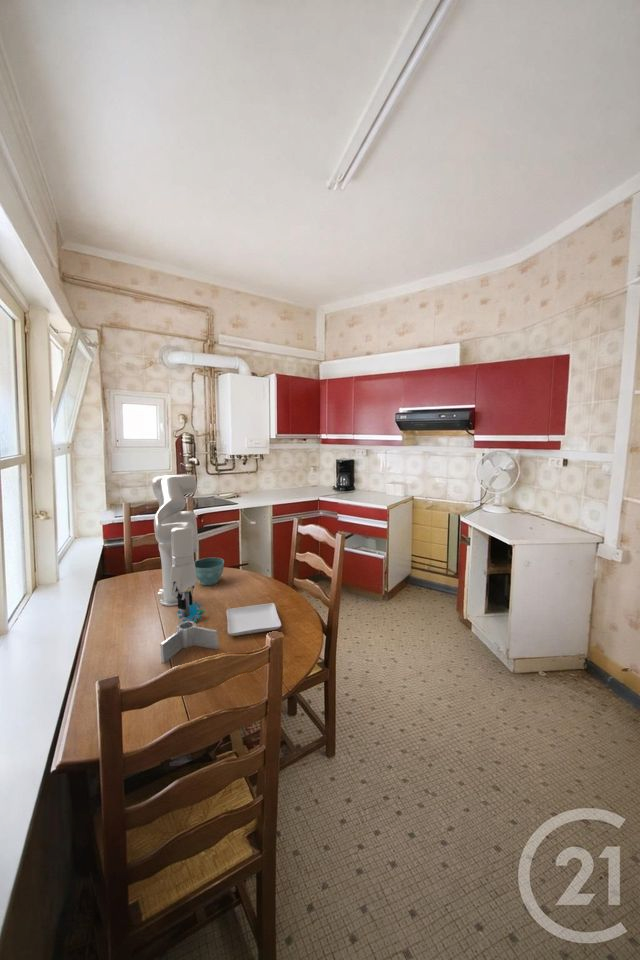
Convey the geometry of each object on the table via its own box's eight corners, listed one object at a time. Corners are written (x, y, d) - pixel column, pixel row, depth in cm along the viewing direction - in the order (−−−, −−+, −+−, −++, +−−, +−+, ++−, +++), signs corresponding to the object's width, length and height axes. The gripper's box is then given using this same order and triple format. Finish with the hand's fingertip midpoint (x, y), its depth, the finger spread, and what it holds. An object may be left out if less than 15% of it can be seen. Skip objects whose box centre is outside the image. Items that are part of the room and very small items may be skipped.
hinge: (154, 661, 133) (153, 642, 132) (185, 636, 148) (184, 620, 147) (195, 670, 128) (194, 650, 127) (222, 644, 143) (221, 626, 142)
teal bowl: (212, 590, 192) (211, 569, 190) (186, 585, 197) (185, 565, 196) (230, 578, 207) (230, 559, 205) (206, 574, 212) (205, 556, 211)
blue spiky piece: (176, 623, 156) (178, 599, 162) (175, 628, 160) (177, 604, 166) (204, 622, 159) (205, 599, 165) (203, 626, 164) (203, 604, 170)
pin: (176, 617, 141) (174, 588, 140) (184, 611, 146) (183, 584, 144) (187, 619, 140) (185, 590, 138) (195, 613, 144) (193, 585, 143)
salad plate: (228, 641, 146) (227, 632, 145) (226, 615, 166) (226, 608, 166) (282, 633, 152) (282, 625, 151) (274, 609, 172) (274, 602, 171)
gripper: (188, 552, 149) (190, 596, 151) (159, 565, 133) (161, 615, 136) (204, 553, 146) (206, 598, 149) (176, 567, 131) (179, 618, 133)
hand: (185, 606), depth 142 cm, fingers closed on pin, 3 cm apart
